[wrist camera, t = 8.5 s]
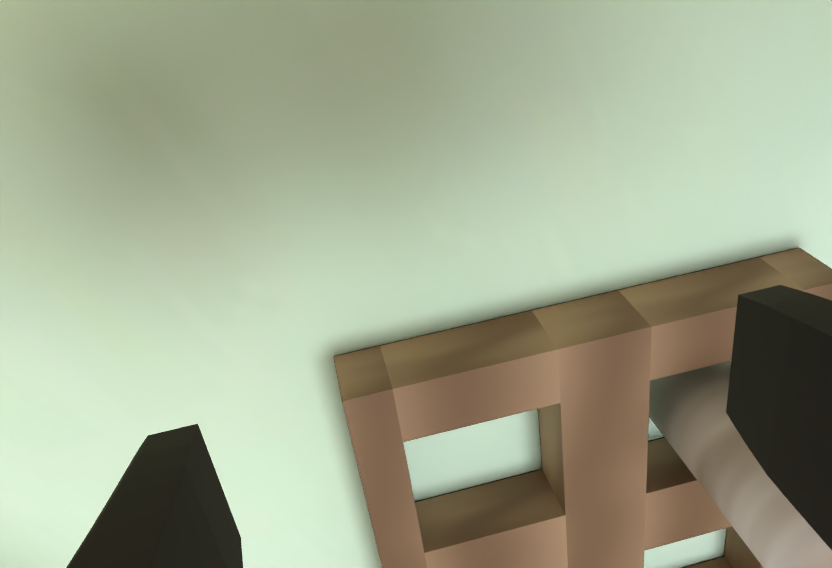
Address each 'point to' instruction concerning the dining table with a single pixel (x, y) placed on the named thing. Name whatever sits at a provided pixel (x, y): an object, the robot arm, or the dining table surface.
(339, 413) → the dining table surface
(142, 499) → the robot arm
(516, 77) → the dining table surface
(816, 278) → the wooden grid tray
